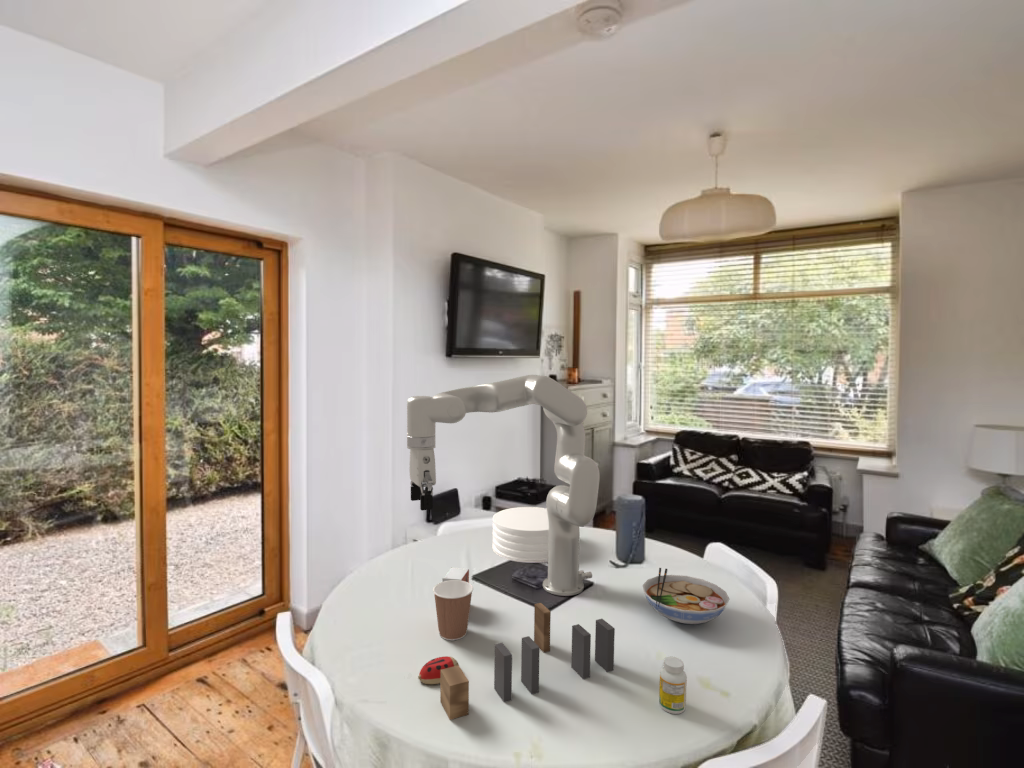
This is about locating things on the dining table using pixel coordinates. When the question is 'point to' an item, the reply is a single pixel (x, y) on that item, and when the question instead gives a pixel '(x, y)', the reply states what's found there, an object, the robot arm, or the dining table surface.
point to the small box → (457, 575)
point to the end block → (454, 692)
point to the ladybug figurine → (435, 669)
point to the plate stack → (521, 534)
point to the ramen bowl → (685, 598)
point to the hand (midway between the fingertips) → (421, 504)
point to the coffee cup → (453, 608)
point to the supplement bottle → (673, 686)
